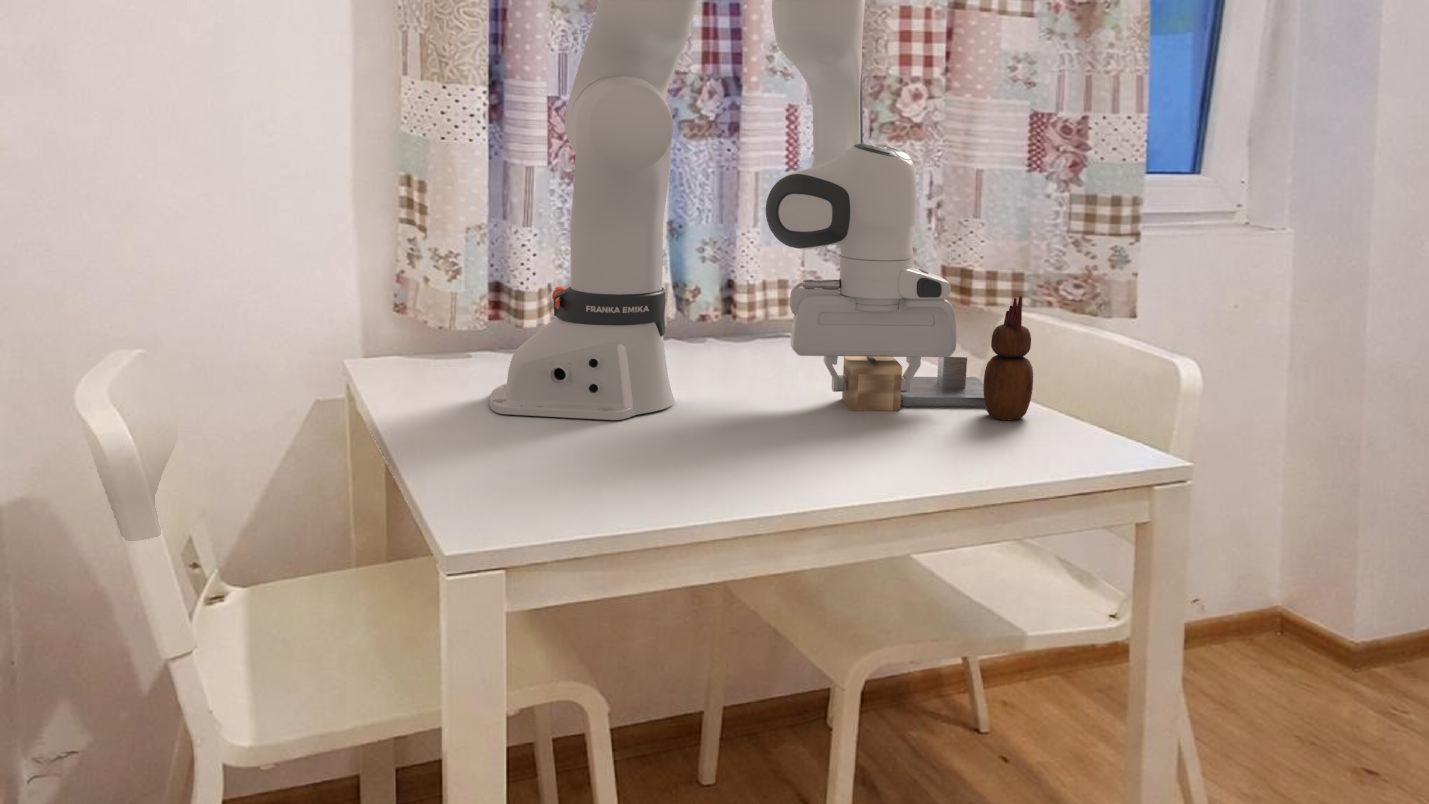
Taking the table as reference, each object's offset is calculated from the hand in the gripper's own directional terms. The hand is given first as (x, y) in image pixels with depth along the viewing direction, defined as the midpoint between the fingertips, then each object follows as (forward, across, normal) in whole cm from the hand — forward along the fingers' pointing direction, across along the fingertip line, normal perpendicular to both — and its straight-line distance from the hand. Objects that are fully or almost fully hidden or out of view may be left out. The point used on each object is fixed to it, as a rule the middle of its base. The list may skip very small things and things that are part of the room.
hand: (870, 391), depth 164 cm
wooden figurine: (+2, +16, -6) cm, 17 cm away
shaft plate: (+2, +10, +5) cm, 11 cm away
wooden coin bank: (+2, 0, 0) cm, 2 cm away
